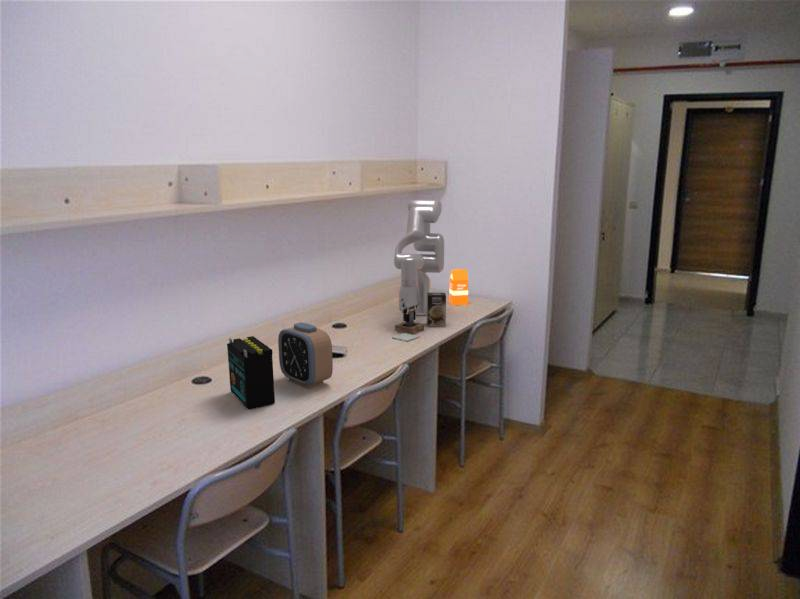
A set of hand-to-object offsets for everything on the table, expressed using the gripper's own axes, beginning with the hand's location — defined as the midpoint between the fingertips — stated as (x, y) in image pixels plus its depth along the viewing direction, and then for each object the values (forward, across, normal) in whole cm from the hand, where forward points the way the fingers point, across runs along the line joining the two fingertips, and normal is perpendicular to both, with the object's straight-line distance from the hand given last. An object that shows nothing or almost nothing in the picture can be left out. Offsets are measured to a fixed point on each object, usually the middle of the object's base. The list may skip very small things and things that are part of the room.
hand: (409, 320), depth 292 cm
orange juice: (+6, -60, -13) cm, 61 cm away
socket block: (+5, 0, 0) cm, 5 cm away
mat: (+5, +10, +6) cm, 13 cm away
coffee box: (+6, -16, +4) cm, 17 cm away
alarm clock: (+5, +77, +13) cm, 79 cm away
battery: (+4, +99, +10) cm, 100 cm away
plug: (+4, 0, 0) cm, 4 cm away
